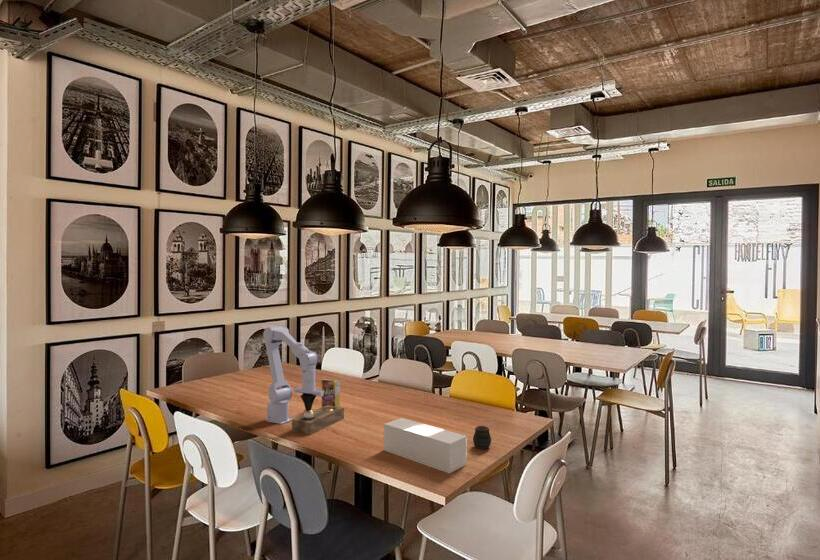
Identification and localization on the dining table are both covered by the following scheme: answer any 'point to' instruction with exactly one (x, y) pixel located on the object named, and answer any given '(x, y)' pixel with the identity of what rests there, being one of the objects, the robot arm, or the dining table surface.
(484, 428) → the mate gourd
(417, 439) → the white box
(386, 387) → the dining table surface
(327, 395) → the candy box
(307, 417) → the peg
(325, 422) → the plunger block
